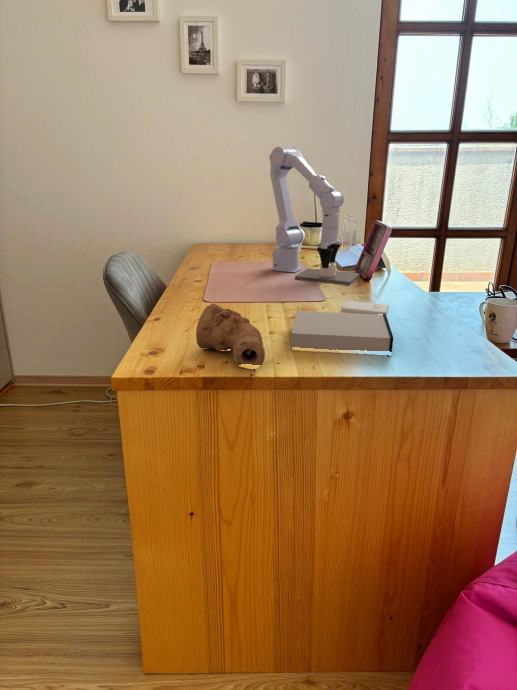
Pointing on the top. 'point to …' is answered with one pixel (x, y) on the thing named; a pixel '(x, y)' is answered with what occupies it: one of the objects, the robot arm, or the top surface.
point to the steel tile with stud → (338, 278)
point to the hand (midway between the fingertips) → (328, 265)
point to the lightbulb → (302, 240)
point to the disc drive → (341, 331)
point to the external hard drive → (365, 307)
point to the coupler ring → (328, 270)
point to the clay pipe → (230, 335)
